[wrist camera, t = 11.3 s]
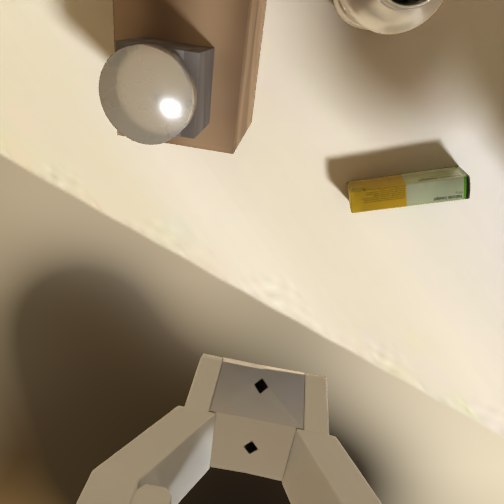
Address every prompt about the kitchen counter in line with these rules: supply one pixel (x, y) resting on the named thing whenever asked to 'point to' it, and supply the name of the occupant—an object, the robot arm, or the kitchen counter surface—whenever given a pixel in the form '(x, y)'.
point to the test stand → (204, 59)
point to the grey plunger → (147, 93)
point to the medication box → (409, 189)
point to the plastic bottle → (386, 14)
